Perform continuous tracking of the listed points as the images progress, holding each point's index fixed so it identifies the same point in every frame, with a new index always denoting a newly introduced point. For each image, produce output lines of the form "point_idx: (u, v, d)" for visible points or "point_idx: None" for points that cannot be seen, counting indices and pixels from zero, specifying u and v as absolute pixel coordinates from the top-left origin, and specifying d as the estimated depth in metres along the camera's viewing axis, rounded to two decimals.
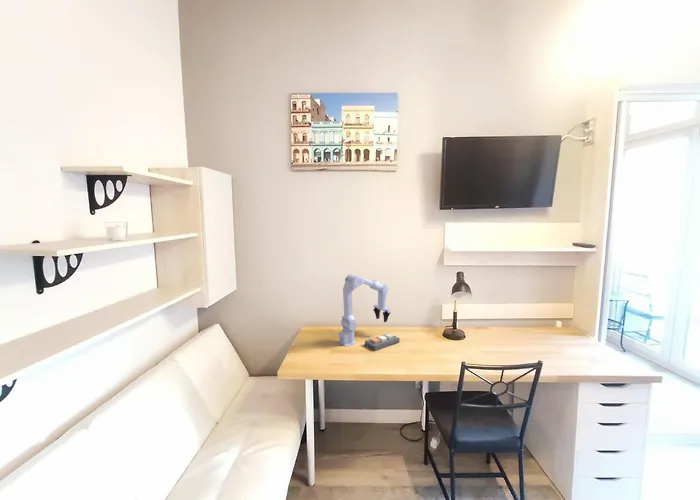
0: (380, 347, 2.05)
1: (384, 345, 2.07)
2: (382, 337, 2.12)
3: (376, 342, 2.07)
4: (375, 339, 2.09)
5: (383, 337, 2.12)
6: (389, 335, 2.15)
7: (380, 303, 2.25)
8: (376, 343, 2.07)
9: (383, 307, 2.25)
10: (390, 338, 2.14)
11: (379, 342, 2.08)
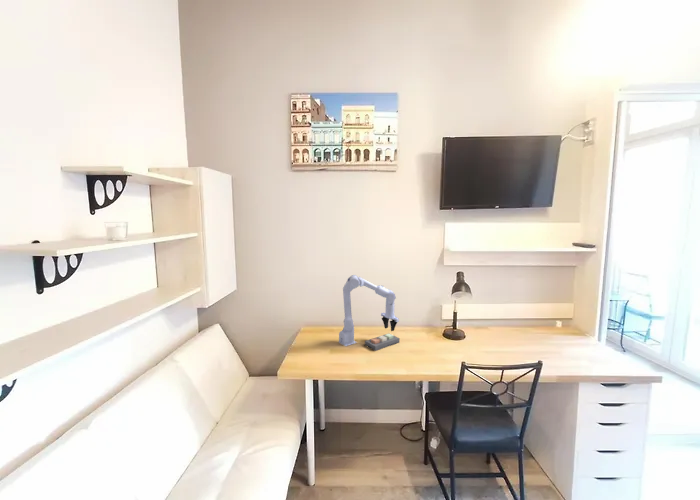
0: (380, 347, 2.05)
1: (384, 345, 2.07)
2: (382, 337, 2.12)
3: (376, 342, 2.07)
4: (375, 339, 2.09)
5: (383, 337, 2.12)
6: (389, 335, 2.15)
7: (388, 311, 2.11)
8: (376, 343, 2.07)
9: (391, 316, 2.11)
10: (390, 338, 2.14)
11: (379, 342, 2.08)
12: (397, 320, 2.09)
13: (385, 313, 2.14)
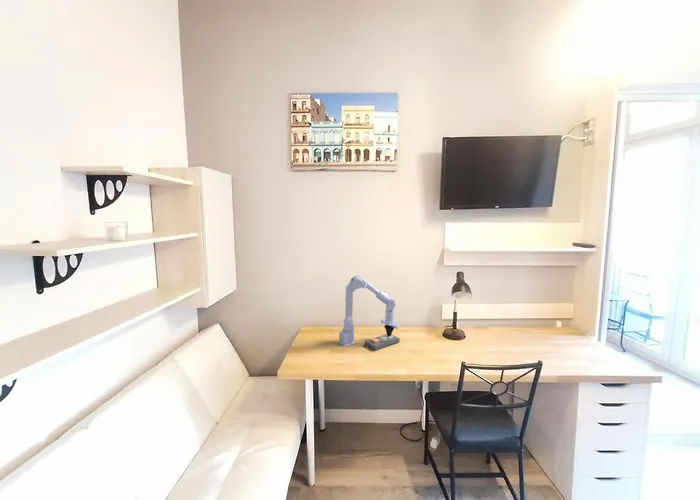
0: (380, 347, 2.05)
1: (384, 345, 2.07)
2: (382, 337, 2.12)
3: (376, 342, 2.07)
4: (375, 339, 2.09)
5: (383, 337, 2.12)
6: None
7: (388, 318, 2.12)
8: (376, 343, 2.07)
9: (391, 322, 2.12)
10: None
11: (379, 342, 2.08)
12: (397, 327, 2.09)
13: (385, 320, 2.14)
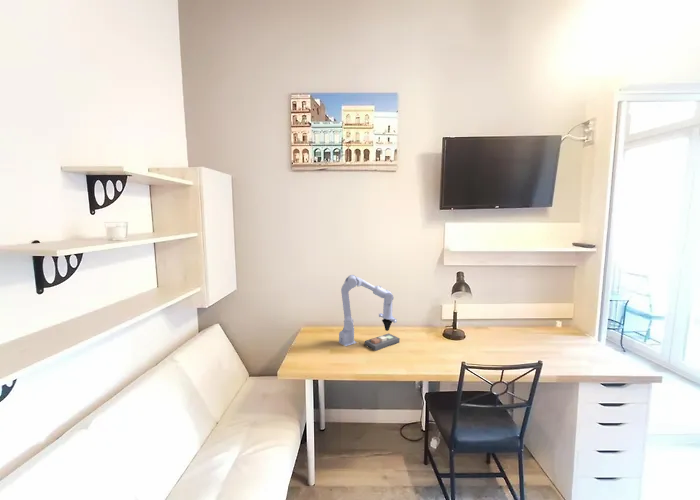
0: (380, 347, 2.05)
1: (384, 345, 2.07)
2: (382, 337, 2.12)
3: (376, 342, 2.07)
4: (375, 339, 2.09)
5: (383, 337, 2.12)
6: (389, 337, 2.16)
7: (386, 312, 2.10)
8: (376, 343, 2.07)
9: (389, 316, 2.10)
10: None
11: (379, 342, 2.08)
12: (395, 321, 2.08)
13: (383, 314, 2.13)
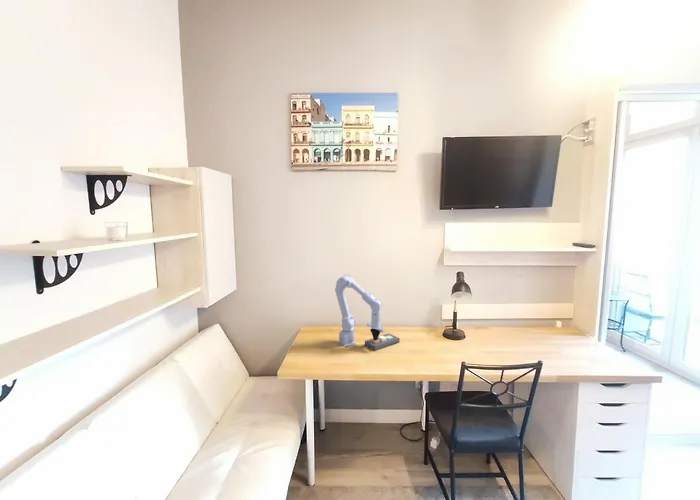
0: (380, 347, 2.05)
1: (384, 345, 2.07)
2: (382, 337, 2.12)
3: (376, 342, 2.07)
4: None
5: (383, 337, 2.12)
6: (389, 337, 2.16)
7: (374, 322, 2.05)
8: (376, 343, 2.07)
9: (377, 326, 2.05)
10: None
11: (379, 342, 2.09)
12: (383, 331, 2.02)
13: (371, 323, 2.07)
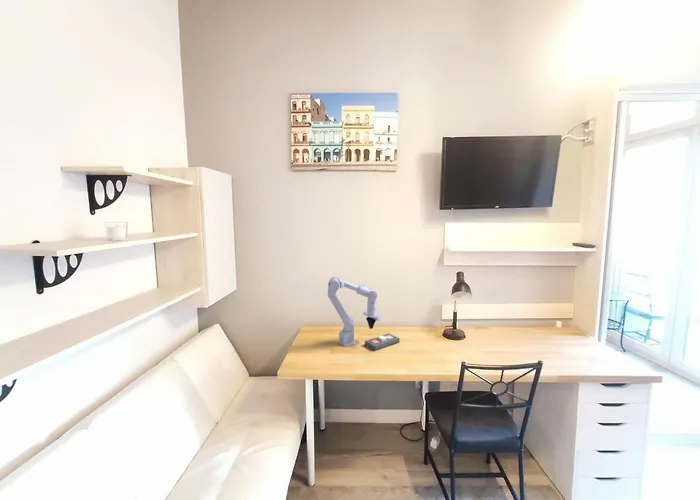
0: (380, 347, 2.05)
1: (384, 345, 2.07)
2: (382, 337, 2.12)
3: None
4: (375, 341, 2.09)
5: (383, 337, 2.12)
6: (389, 337, 2.16)
7: (369, 310, 2.11)
8: None
9: (372, 314, 2.11)
10: None
11: None
12: (378, 319, 2.08)
13: (367, 312, 2.14)
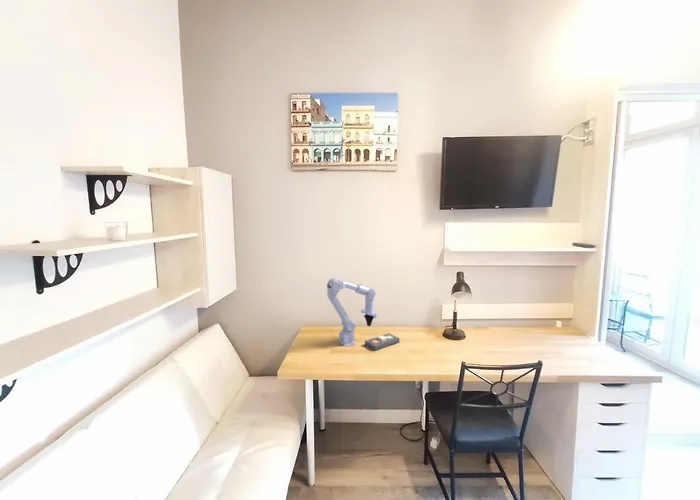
0: (380, 347, 2.05)
1: (384, 345, 2.07)
2: (382, 337, 2.12)
3: None
4: (375, 341, 2.09)
5: (383, 337, 2.12)
6: (389, 337, 2.16)
7: (367, 308, 2.15)
8: None
9: (370, 312, 2.15)
10: None
11: None
12: (376, 316, 2.12)
13: (365, 309, 2.17)
